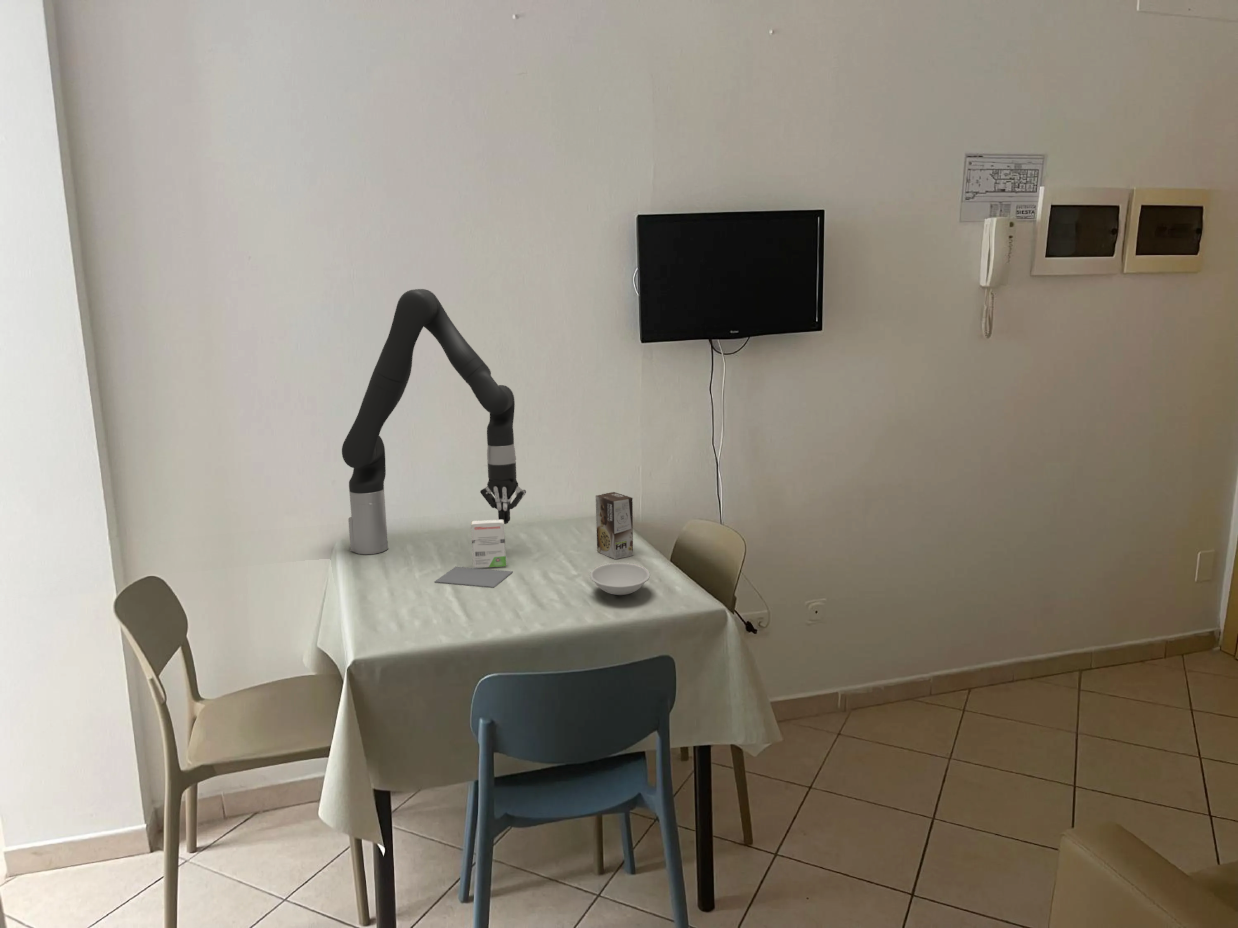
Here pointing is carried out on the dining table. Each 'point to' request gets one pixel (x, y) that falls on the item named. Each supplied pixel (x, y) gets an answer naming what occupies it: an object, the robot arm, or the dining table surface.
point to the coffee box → (614, 525)
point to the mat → (474, 577)
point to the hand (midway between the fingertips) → (504, 523)
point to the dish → (619, 577)
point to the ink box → (488, 543)
